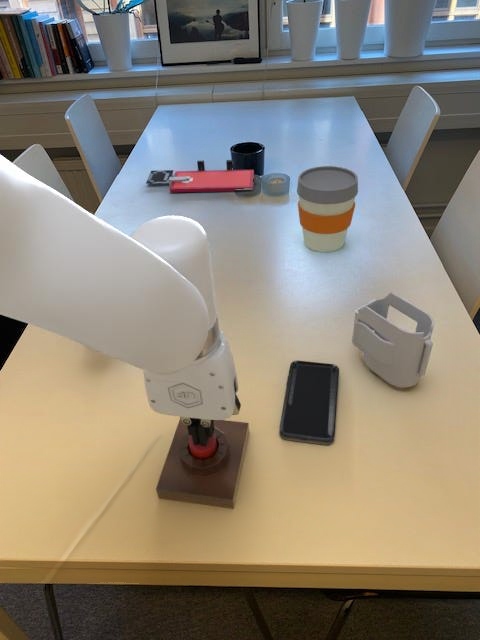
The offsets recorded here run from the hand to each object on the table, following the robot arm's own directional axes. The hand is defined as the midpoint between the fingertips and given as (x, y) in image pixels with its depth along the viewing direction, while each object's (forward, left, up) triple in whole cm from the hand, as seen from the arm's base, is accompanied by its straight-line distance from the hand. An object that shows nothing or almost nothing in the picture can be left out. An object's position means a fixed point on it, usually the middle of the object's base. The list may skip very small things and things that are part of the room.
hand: (202, 436), depth 64 cm
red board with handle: (+79, +48, -6) cm, 93 cm away
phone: (+16, -9, -6) cm, 19 cm away
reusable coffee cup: (+61, +5, -6) cm, 61 cm away
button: (0, 0, -2) cm, 2 cm away
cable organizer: (+28, -17, -6) cm, 33 cm away
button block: (0, 0, -6) cm, 6 cm away
